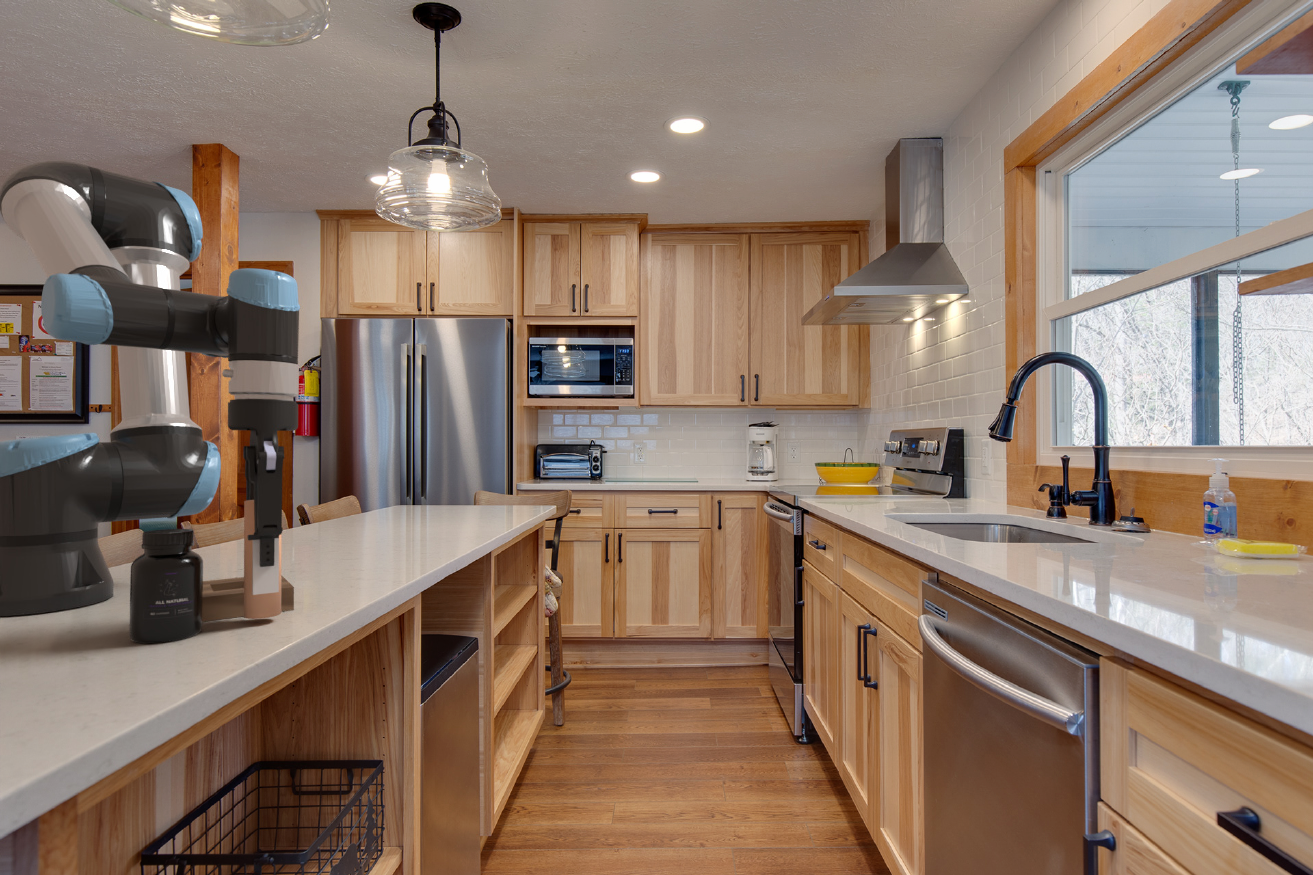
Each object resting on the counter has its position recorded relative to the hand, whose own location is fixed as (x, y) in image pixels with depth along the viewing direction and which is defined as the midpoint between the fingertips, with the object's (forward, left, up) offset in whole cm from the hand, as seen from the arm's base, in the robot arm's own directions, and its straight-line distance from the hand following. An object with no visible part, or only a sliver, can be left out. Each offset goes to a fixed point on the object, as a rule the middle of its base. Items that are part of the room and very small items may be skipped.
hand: (262, 588), depth 86 cm
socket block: (-11, -2, -4) cm, 12 cm away
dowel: (0, 0, -3) cm, 3 cm away
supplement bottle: (0, -10, -4) cm, 11 cm away
